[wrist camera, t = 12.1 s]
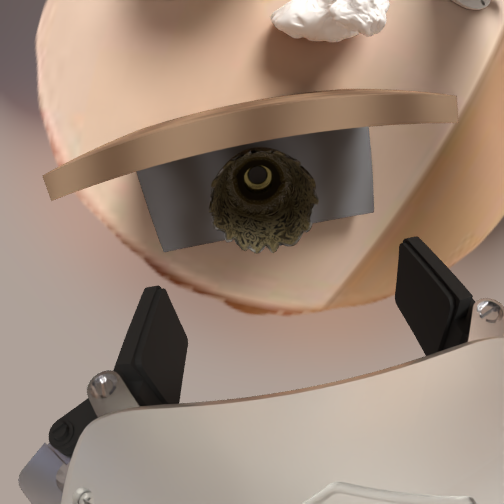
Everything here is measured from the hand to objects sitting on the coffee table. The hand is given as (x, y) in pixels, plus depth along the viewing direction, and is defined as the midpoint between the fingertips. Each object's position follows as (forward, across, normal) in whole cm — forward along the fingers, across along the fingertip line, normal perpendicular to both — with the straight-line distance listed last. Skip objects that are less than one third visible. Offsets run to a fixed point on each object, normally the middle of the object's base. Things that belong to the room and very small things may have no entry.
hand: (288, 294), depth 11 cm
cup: (+18, 0, 0) cm, 18 cm away
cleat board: (+22, 0, 0) cm, 22 cm away
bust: (+23, -10, -15) cm, 29 cm away
